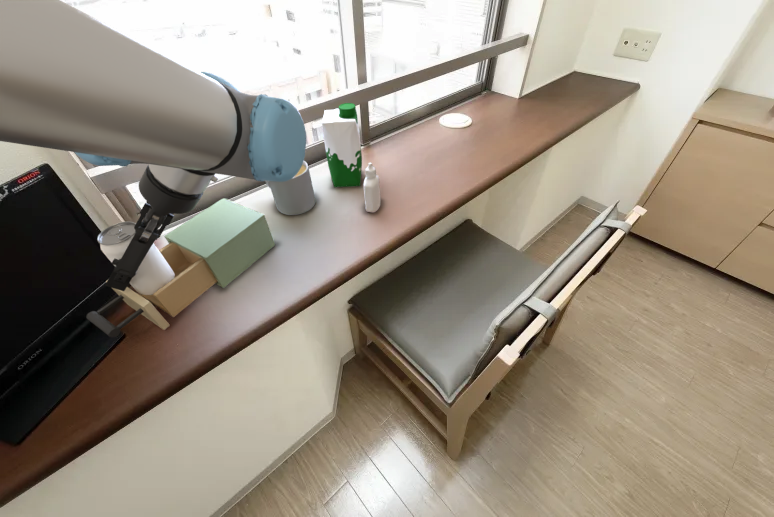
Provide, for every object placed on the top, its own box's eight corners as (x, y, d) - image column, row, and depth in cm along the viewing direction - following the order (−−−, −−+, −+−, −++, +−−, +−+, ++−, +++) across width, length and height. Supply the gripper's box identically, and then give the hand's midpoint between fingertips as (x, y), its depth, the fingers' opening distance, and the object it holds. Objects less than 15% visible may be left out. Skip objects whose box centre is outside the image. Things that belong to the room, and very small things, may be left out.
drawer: (132, 356, 56) (107, 333, 52) (96, 327, 61) (70, 304, 56) (225, 280, 68) (211, 256, 63) (189, 260, 72) (173, 236, 67)
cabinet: (223, 288, 67) (205, 258, 61) (183, 266, 72) (163, 236, 66) (275, 244, 76) (264, 214, 70) (237, 227, 81) (223, 197, 75)
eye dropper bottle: (359, 207, 85) (354, 164, 76) (375, 198, 88) (372, 155, 79) (371, 215, 83) (367, 171, 74) (387, 205, 85) (385, 161, 77)
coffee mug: (323, 201, 88) (316, 166, 80) (293, 220, 82) (283, 184, 75) (291, 183, 94) (281, 150, 87) (261, 200, 89) (248, 166, 82)
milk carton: (363, 188, 91) (356, 113, 77) (330, 189, 91) (316, 114, 77) (364, 171, 97) (357, 98, 83) (332, 172, 97) (320, 100, 83)
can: (162, 265, 65) (125, 215, 56) (183, 277, 62) (149, 227, 54) (129, 288, 61) (85, 238, 52) (151, 302, 58) (108, 251, 50)
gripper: (188, 232, 44) (127, 324, 54) (217, 159, 58) (164, 243, 68) (120, 204, 40) (68, 309, 50) (169, 132, 53) (120, 226, 63)
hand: (123, 271), depth 59 cm, fingers closed on can, 6 cm apart
